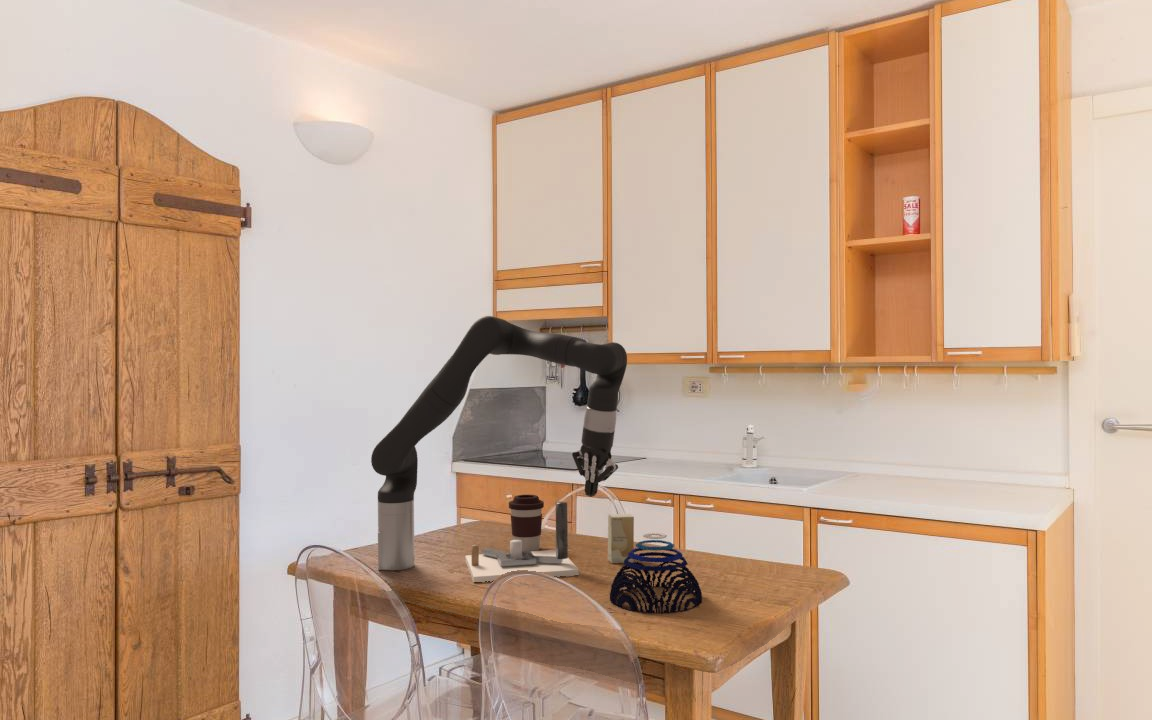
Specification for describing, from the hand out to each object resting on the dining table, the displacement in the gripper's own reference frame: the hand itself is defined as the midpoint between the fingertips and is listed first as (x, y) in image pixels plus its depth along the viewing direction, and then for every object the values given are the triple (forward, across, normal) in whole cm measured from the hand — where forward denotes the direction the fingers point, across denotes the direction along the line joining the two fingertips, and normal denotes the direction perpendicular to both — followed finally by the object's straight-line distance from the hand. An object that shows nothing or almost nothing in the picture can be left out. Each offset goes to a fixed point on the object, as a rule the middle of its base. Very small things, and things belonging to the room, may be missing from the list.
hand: (590, 495), depth 193 cm
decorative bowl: (+16, +24, -4) cm, 29 cm away
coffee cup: (+29, -30, +13) cm, 44 cm away
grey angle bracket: (+24, -19, 0) cm, 30 cm away
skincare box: (+23, -1, +19) cm, 30 cm away
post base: (+25, -18, -4) cm, 31 cm away
